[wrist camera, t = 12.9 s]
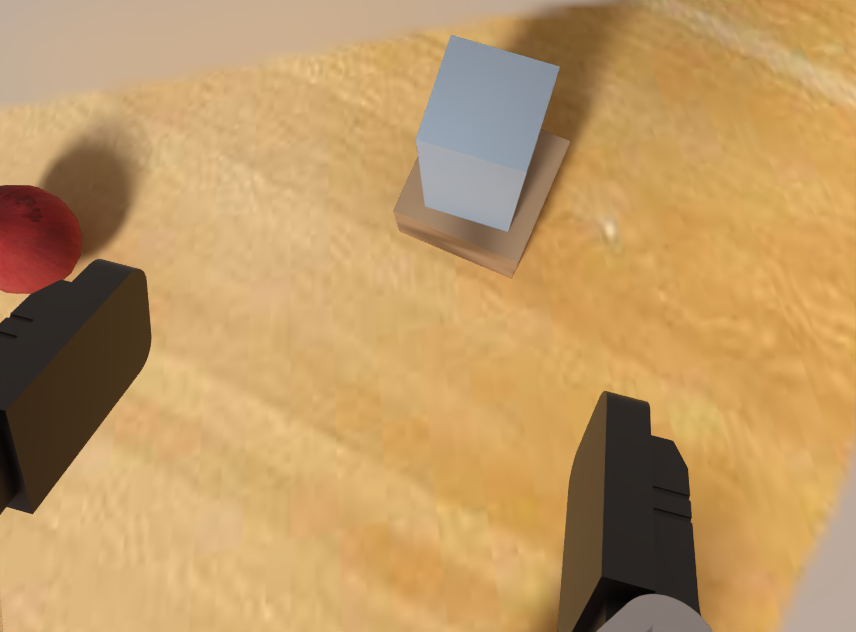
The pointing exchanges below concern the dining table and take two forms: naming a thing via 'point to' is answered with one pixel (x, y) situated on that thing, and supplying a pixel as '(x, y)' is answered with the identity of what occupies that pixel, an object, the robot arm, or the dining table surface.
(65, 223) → the onion
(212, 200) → the dining table surface
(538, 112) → the pillar
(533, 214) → the walnut block
